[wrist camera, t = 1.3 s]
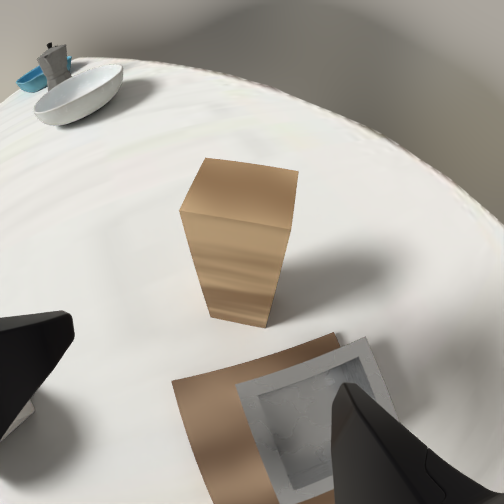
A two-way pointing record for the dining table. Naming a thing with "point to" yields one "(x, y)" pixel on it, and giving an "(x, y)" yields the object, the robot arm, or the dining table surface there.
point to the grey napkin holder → (20, 418)
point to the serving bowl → (79, 95)
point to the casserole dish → (36, 79)
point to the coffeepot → (54, 65)
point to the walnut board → (236, 426)
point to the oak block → (239, 235)
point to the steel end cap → (306, 416)
